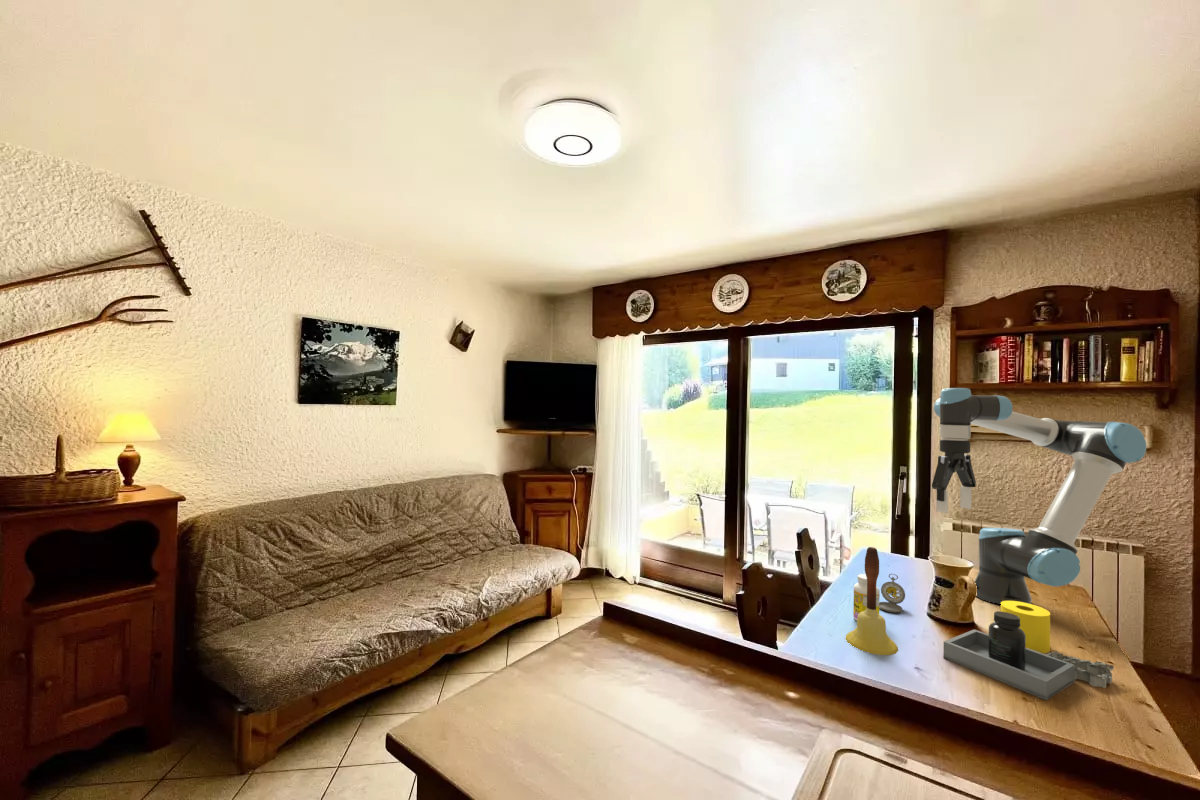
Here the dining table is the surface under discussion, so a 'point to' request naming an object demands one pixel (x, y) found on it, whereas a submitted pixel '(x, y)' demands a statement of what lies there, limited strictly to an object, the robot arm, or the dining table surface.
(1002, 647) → the supplement bottle
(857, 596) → the supplement bottle
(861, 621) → the handbell
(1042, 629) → the yellow toilet roll
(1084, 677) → the egg carton
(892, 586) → the pocket watch
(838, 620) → the dining table surface
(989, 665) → the tray
